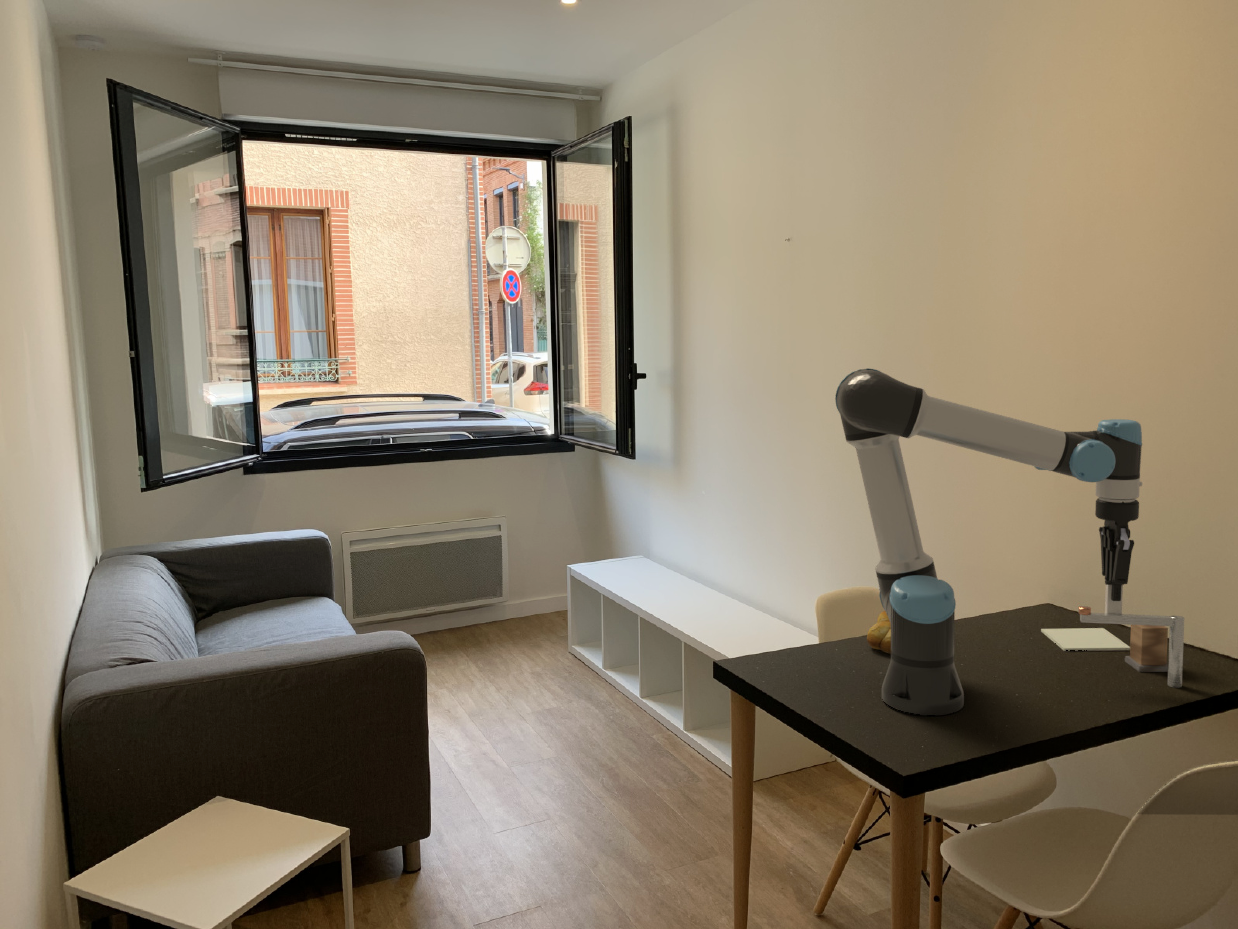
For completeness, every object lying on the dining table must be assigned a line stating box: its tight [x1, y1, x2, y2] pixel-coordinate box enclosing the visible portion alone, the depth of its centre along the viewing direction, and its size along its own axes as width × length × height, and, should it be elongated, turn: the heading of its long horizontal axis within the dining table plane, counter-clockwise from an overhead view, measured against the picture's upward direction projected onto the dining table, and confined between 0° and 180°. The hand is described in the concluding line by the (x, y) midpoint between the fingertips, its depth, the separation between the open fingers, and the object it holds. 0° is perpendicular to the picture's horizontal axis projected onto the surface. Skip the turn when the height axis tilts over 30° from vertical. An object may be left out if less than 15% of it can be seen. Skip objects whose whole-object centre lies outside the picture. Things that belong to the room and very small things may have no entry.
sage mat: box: [1040, 627, 1130, 652], centre depth 210 cm, size 14×14×1 cm
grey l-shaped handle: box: [1078, 605, 1185, 689], centre depth 184 cm, size 2×19×15 cm, turn 73°
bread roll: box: [866, 610, 891, 655], centre depth 209 cm, size 13×10×8 cm
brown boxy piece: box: [1124, 625, 1169, 673], centre depth 193 cm, size 6×6×9 cm
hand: (1113, 614), depth 185 cm, fingers closed
